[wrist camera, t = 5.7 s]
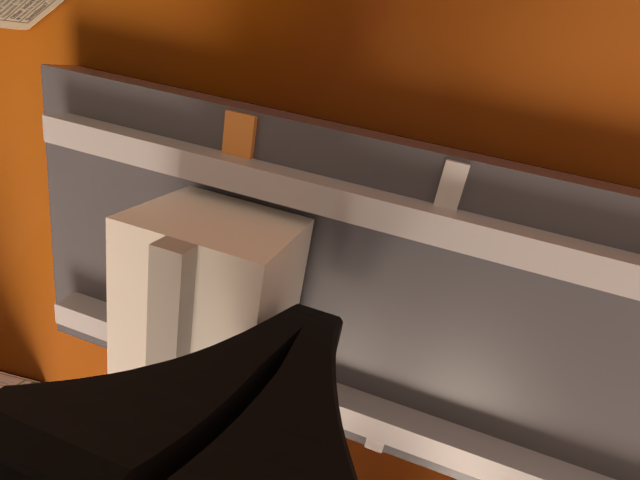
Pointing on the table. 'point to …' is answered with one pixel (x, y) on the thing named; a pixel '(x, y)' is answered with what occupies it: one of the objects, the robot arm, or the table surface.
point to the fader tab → (197, 273)
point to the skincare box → (24, 12)
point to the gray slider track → (389, 270)
